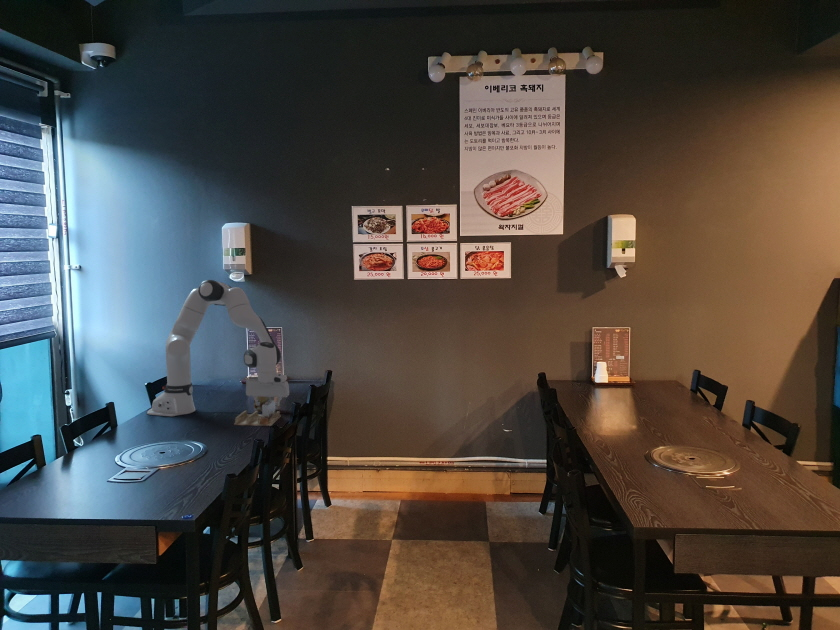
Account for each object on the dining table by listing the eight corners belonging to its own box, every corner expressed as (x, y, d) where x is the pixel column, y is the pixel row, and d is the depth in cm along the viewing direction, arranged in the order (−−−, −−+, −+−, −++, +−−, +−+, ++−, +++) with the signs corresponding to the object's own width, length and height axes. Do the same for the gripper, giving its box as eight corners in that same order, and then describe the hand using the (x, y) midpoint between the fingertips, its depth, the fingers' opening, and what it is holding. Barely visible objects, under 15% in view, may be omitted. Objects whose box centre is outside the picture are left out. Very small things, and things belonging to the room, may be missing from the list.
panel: (262, 421, 277) (262, 405, 277) (269, 415, 287) (268, 399, 286) (268, 422, 277) (268, 405, 276) (275, 416, 287) (275, 399, 286)
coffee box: (253, 411, 298) (252, 380, 297) (258, 408, 305) (257, 377, 303) (271, 412, 298) (270, 380, 296) (275, 408, 304) (274, 378, 302)
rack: (234, 425, 276) (234, 418, 275) (245, 415, 291) (245, 409, 290) (270, 425, 275) (270, 419, 274) (280, 416, 290) (280, 410, 289)
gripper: (243, 377, 277) (243, 406, 279) (286, 379, 276) (286, 408, 277) (248, 374, 283) (248, 403, 285) (290, 376, 282) (290, 404, 283)
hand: (267, 405), depth 281 cm, fingers open, 8 cm apart
